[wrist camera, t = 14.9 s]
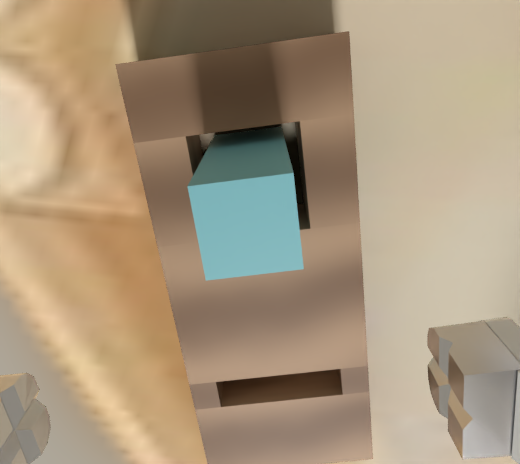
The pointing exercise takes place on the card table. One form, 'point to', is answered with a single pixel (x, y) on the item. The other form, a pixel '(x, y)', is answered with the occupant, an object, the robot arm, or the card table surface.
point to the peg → (246, 206)
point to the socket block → (271, 284)
